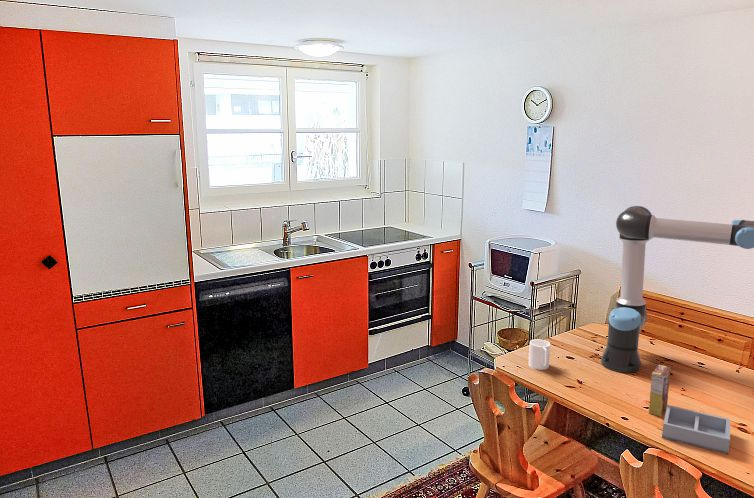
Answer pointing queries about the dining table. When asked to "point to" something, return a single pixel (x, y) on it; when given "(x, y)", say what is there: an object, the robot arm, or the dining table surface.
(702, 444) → the bin
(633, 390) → the dining table surface
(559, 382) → the dining table surface
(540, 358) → the cup
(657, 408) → the candy box
